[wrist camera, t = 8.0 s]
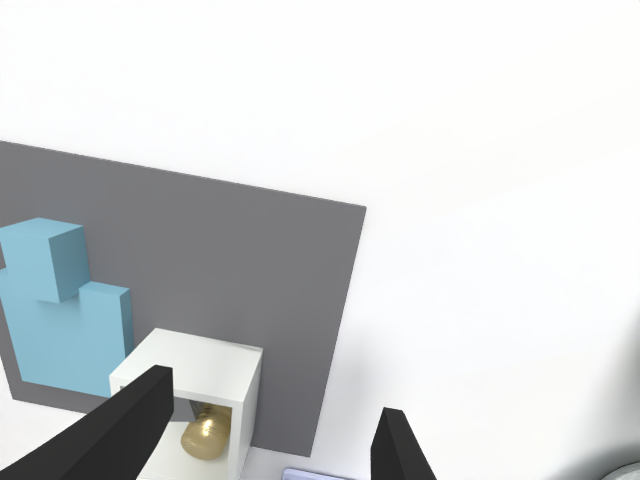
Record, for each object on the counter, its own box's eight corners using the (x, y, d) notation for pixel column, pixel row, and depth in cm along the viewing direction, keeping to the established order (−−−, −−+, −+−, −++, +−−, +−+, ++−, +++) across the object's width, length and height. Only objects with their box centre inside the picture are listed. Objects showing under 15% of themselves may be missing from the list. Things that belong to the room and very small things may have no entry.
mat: (310, 453, 25) (309, 457, 25) (16, 396, 26) (12, 399, 25) (366, 206, 17) (366, 207, 17) (-58, 130, 18) (-64, 130, 18)
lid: (137, 391, 24) (116, 418, 22) (34, 371, 24) (2, 395, 22) (125, 233, 19) (95, 247, 17) (-4, 209, 19) (-51, 220, 17)
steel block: (214, 385, 22) (195, 421, 19) (175, 385, 23) (150, 421, 20) (205, 350, 21) (183, 384, 18) (163, 351, 21) (135, 385, 19)
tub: (253, 433, 24) (234, 497, 20) (159, 415, 25) (121, 474, 20) (263, 348, 21) (243, 401, 17) (155, 327, 21) (108, 376, 17)
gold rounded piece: (236, 424, 23) (222, 463, 21) (200, 416, 23) (180, 455, 21) (239, 396, 22) (224, 434, 20) (201, 388, 22) (180, 425, 20)
